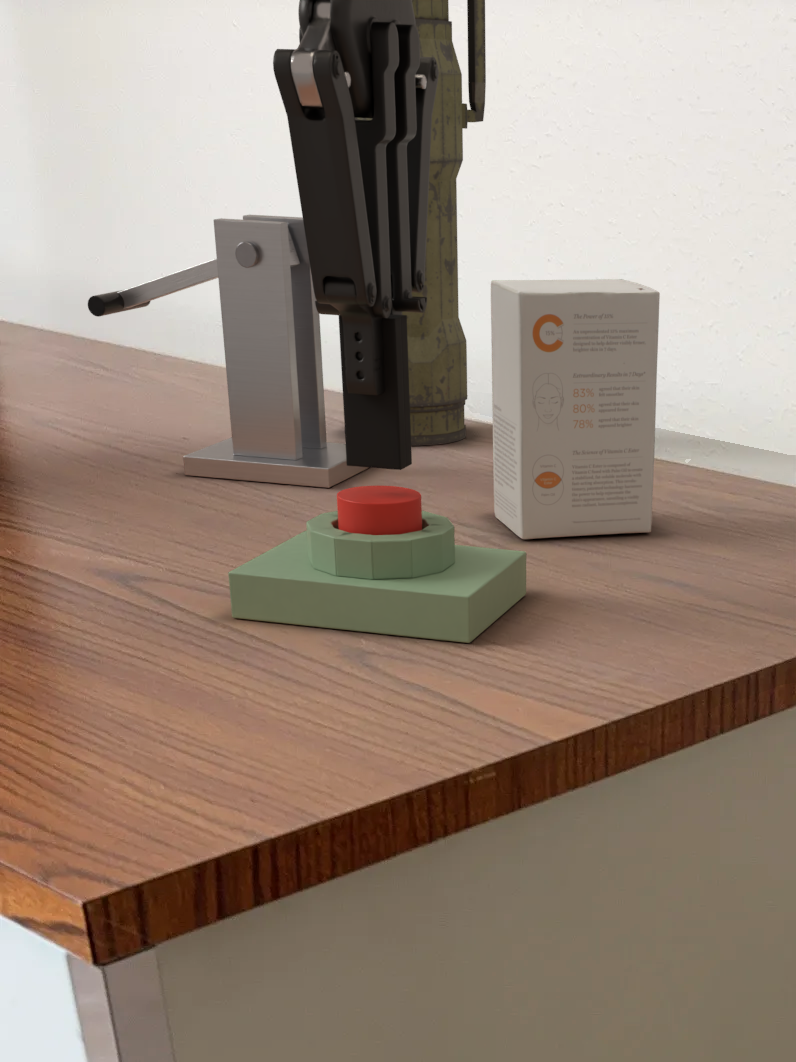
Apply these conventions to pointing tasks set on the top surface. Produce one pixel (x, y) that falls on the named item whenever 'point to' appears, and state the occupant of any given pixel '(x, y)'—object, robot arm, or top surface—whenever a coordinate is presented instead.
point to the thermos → (443, 231)
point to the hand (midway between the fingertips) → (379, 464)
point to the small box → (573, 405)
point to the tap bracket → (270, 361)
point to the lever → (162, 287)
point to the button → (379, 510)
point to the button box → (380, 582)
